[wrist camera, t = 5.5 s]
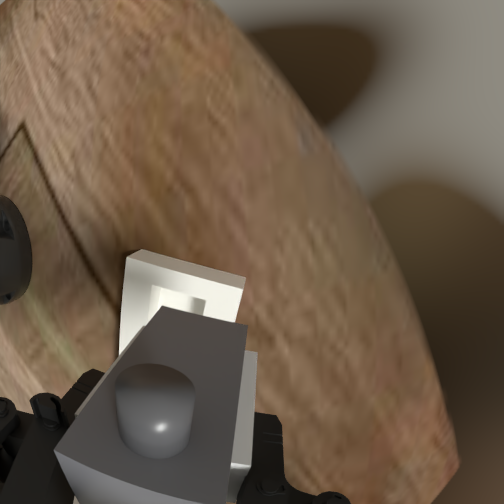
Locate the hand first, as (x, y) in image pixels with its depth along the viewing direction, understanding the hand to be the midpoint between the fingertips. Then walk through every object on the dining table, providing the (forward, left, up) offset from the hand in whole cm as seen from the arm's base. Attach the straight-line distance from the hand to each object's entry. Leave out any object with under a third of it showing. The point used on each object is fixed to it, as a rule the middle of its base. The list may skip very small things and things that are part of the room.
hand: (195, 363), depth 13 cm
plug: (0, 0, 0) cm, 0 cm away
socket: (-4, -9, -16) cm, 19 cm away
